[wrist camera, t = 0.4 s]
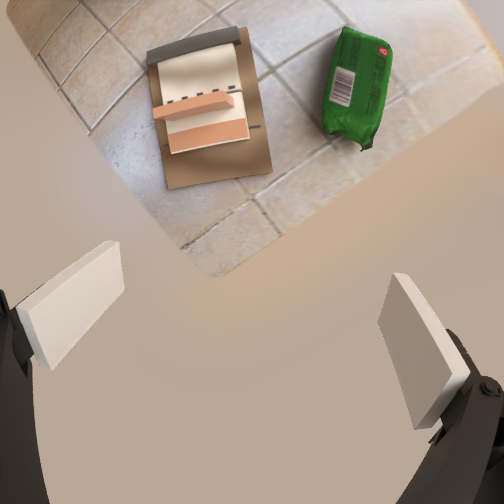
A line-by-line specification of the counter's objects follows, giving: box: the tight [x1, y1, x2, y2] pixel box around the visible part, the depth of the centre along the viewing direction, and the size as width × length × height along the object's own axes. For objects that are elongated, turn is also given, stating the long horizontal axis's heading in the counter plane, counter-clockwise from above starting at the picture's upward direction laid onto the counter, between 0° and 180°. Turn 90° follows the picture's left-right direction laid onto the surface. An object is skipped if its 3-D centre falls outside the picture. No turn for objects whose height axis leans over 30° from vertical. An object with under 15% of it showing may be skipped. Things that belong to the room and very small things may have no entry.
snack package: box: [322, 26, 393, 152], centre depth 29 cm, size 7×16×5 cm, turn 168°
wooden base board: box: [146, 26, 273, 190], centre depth 33 cm, size 20×14×3 cm
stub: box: [152, 90, 250, 154], centre depth 31 cm, size 6×10×7 cm, turn 99°
